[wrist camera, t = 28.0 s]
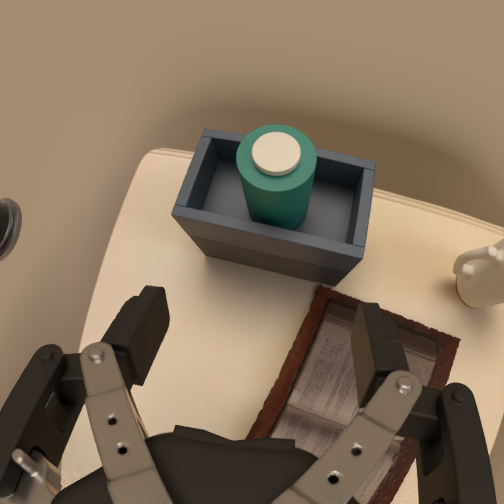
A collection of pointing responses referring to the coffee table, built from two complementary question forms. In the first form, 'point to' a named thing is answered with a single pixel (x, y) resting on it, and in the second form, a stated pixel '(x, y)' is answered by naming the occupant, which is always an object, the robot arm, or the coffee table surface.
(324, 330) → the book
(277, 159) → the plastic bottle
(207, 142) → the open storage box
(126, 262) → the coffee table surface
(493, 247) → the mug
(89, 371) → the robot arm
